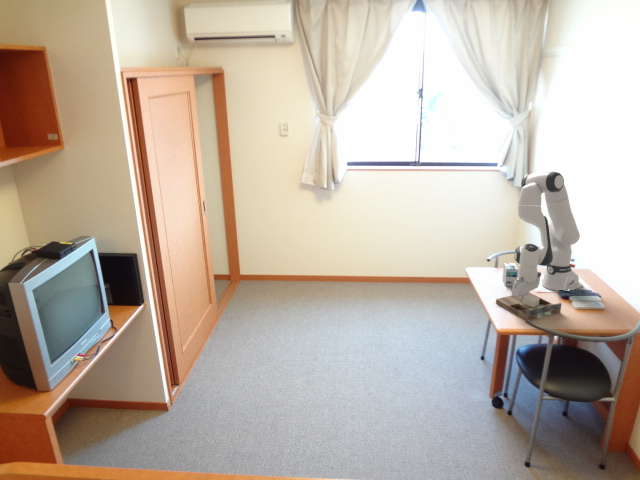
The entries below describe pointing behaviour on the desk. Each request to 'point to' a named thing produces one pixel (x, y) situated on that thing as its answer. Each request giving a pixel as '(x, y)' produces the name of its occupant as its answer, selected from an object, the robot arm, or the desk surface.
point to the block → (531, 300)
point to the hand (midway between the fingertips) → (524, 299)
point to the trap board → (528, 307)
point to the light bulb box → (510, 274)
